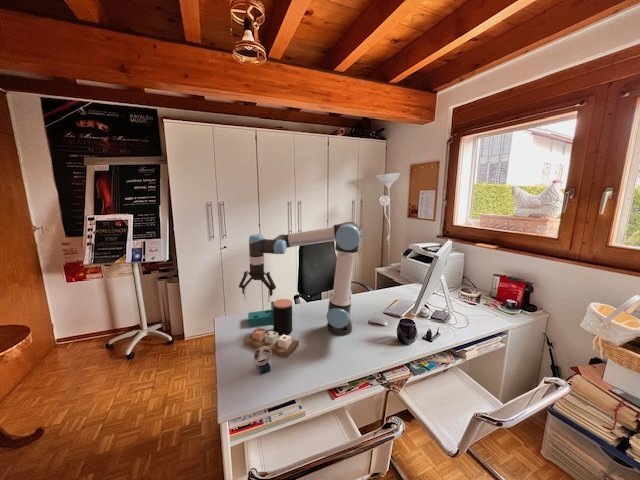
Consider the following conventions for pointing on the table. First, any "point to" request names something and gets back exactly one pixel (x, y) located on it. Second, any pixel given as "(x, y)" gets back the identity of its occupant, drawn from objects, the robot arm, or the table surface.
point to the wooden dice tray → (272, 346)
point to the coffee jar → (282, 316)
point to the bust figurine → (262, 364)
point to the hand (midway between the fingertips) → (257, 300)
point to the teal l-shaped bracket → (261, 317)
